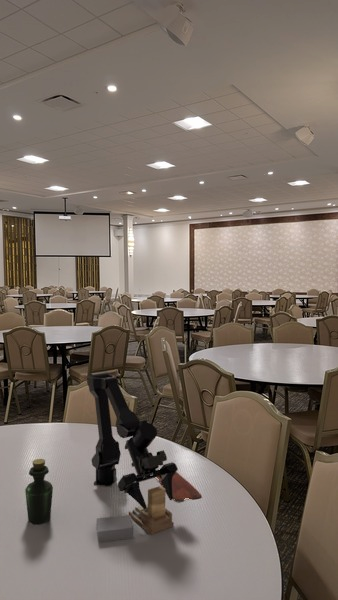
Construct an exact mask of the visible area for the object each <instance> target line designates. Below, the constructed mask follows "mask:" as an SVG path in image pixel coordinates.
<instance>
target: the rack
mask: <svg viewBox="0 0 338 600" xmlns="http://www.w3.org/2000/svg"><path fill="white" fill-rule="evenodd" d="M145 503H146V509H144V508H143V507H142V506H141V505H140V504H138V505H137V506H135V507H134V508H133V509H132V511H130V510H129V511H128V515H130V516H131V519H132V520H134V521H135V522H136V523H137V524H138V525H139V526H140V527H141V528H142V527H143V528H142V529H144V530H145V531H146V532H147V534H149V535H153V534H155V533H158V532H161V531H163V530H164V531H165V530H166V529H169V528H172V527H174V524H175V523H174V521H173V513H172V512H171V511H170V510H169V509H168V508H166V507H165V515H164V516H162V517H159V518H156V519H153V518H152V517H151V516H150V515H148V501H145ZM171 526H172V527H171Z"/></svg>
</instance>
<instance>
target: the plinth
mask: <svg viewBox="0 0 338 600" xmlns="http://www.w3.org/2000/svg"><path fill="white" fill-rule="evenodd" d="M132 520H133V519H132V518H131V516H130V515H129V514H125V515H118V516H117V515H116V516H107V517H100V518H99V517H98V518H96V527H95V528H96V537H97V543H101V542H102V543H103V542H110V541H111V542H112V541H118V540H125V539H126V540H127V539H134V536H135V534H134V533H135V532H134V529H135V528H134V524H133V521H132Z"/></svg>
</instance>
